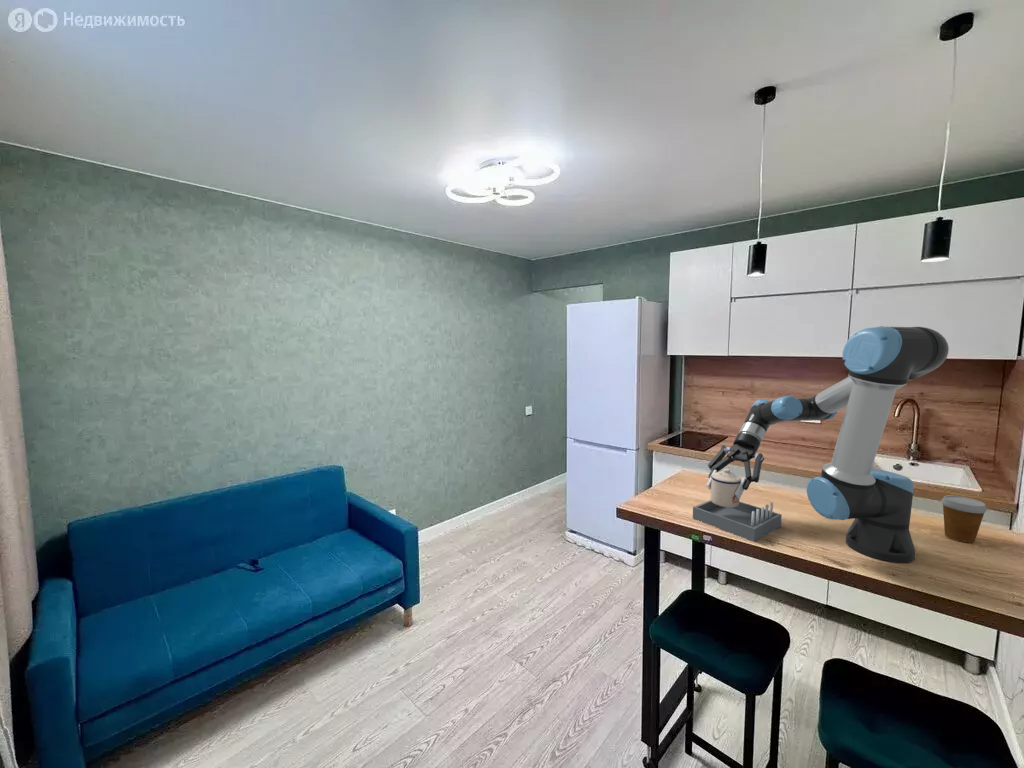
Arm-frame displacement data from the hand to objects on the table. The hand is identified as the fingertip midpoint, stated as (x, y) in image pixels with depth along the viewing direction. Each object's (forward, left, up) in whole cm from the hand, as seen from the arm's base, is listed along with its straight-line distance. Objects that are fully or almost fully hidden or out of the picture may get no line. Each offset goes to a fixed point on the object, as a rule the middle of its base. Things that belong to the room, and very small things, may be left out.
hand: (722, 491), depth 139 cm
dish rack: (-3, -3, -10) cm, 11 cm away
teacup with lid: (+1, -3, -4) cm, 6 cm away
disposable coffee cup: (-48, -48, -10) cm, 69 cm away
